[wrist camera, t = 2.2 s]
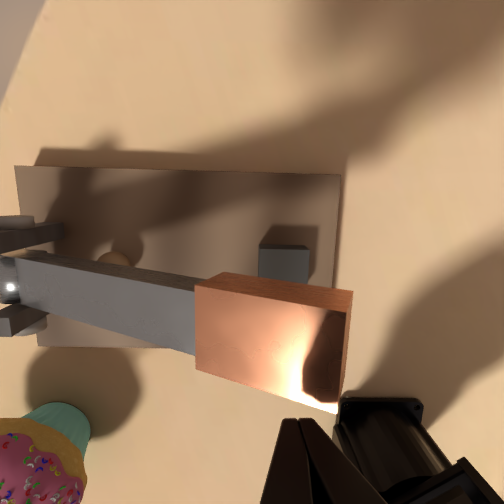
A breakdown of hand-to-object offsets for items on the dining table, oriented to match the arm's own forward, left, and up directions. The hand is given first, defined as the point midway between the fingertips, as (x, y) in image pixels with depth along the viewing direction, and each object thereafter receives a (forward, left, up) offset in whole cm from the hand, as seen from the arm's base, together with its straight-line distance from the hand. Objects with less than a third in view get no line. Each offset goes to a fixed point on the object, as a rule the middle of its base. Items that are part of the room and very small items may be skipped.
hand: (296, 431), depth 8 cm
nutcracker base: (+6, -2, -13) cm, 14 cm away
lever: (+6, -2, -7) cm, 9 cm away
